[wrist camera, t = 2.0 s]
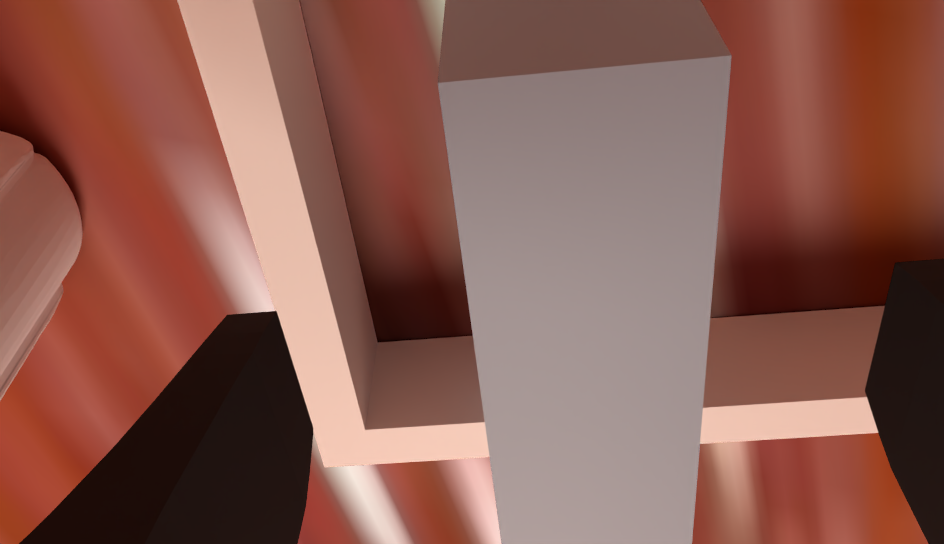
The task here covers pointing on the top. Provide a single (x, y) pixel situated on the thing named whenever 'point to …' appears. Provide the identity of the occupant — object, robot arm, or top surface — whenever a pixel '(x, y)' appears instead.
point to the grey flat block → (588, 253)
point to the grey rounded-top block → (31, 248)
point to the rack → (453, 358)
